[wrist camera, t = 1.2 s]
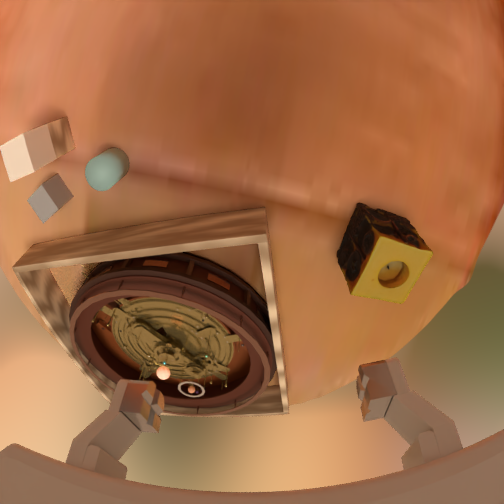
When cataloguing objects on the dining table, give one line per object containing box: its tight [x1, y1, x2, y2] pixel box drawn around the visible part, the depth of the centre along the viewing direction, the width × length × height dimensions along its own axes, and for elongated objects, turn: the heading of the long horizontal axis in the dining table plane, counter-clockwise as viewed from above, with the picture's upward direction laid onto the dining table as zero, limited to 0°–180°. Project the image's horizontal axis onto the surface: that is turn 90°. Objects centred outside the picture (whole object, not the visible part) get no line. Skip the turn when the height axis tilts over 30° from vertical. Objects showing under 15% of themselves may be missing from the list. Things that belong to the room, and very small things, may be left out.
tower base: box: [47, 117, 76, 158], centre depth 36 cm, size 6×6×6 cm
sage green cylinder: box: [85, 148, 129, 191], centre depth 39 cm, size 5×5×5 cm
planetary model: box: [69, 253, 277, 416], centre depth 55 cm, size 43×45×12 cm
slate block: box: [27, 174, 74, 223], centre depth 41 cm, size 5×5×5 cm
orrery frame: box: [12, 207, 289, 417], centre depth 56 cm, size 48×46×8 cm
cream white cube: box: [0, 124, 57, 182], centre depth 31 cm, size 6×6×6 cm
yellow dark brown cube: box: [337, 203, 433, 304], centre depth 43 cm, size 10×10×10 cm
